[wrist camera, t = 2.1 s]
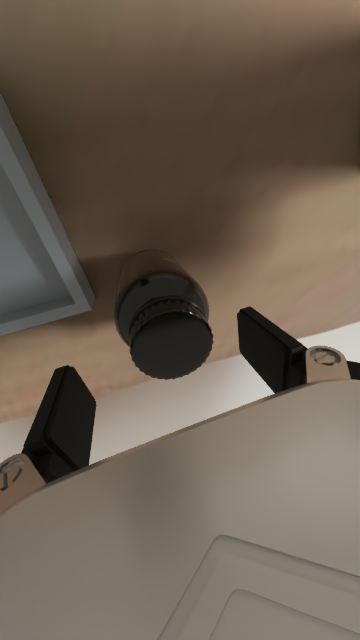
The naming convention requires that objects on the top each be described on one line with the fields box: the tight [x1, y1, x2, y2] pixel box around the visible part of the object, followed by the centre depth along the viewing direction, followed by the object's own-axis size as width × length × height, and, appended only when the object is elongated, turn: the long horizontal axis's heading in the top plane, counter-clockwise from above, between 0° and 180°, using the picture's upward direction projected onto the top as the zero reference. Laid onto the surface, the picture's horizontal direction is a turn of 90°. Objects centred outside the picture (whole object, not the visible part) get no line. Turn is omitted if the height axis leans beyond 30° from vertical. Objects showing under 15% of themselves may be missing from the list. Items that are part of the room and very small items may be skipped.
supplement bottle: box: [114, 250, 213, 380], centre depth 16 cm, size 7×7×12 cm
